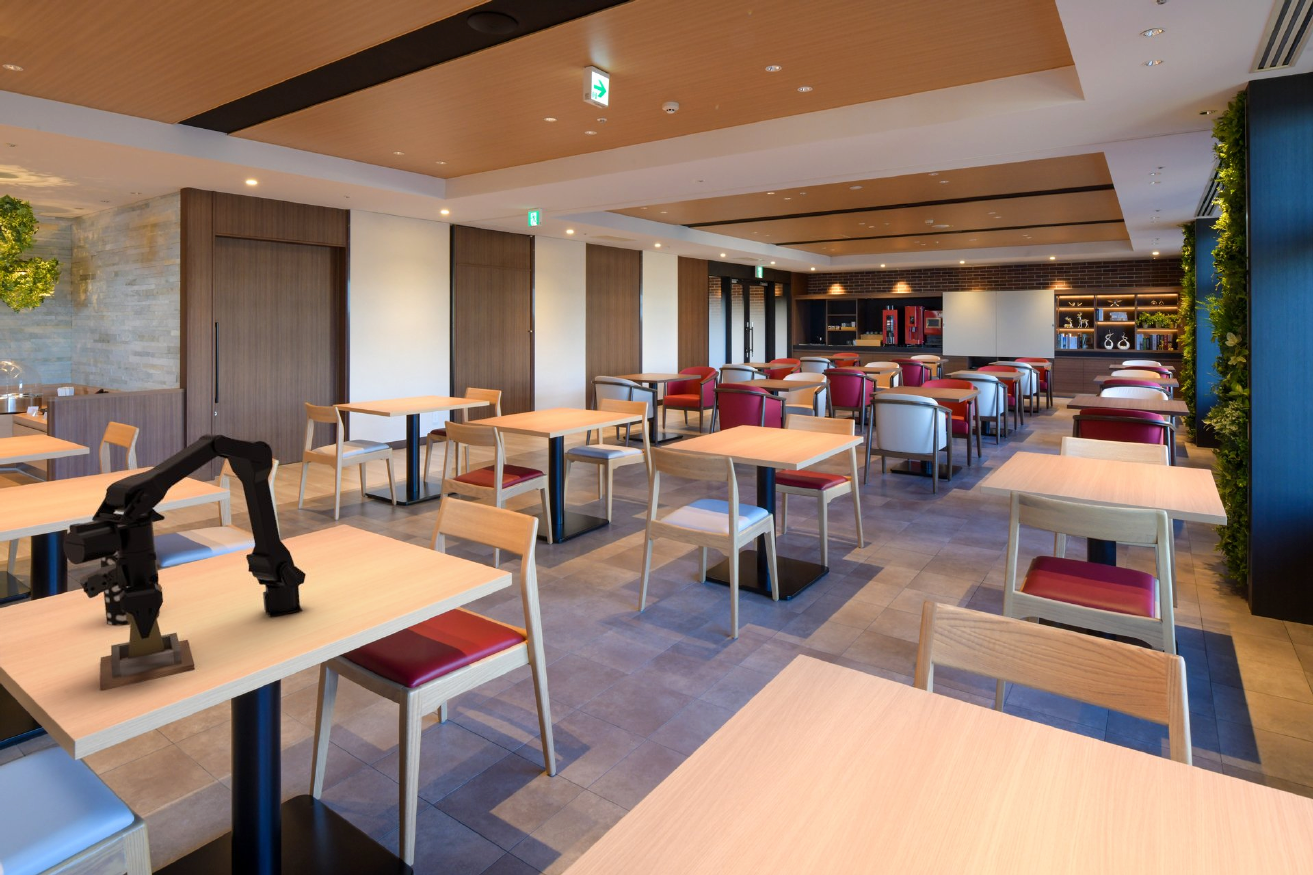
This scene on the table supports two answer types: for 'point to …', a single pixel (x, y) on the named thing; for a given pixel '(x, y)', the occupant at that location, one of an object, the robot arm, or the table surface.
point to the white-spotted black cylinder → (113, 598)
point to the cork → (144, 640)
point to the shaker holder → (145, 663)
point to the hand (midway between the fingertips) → (144, 629)
